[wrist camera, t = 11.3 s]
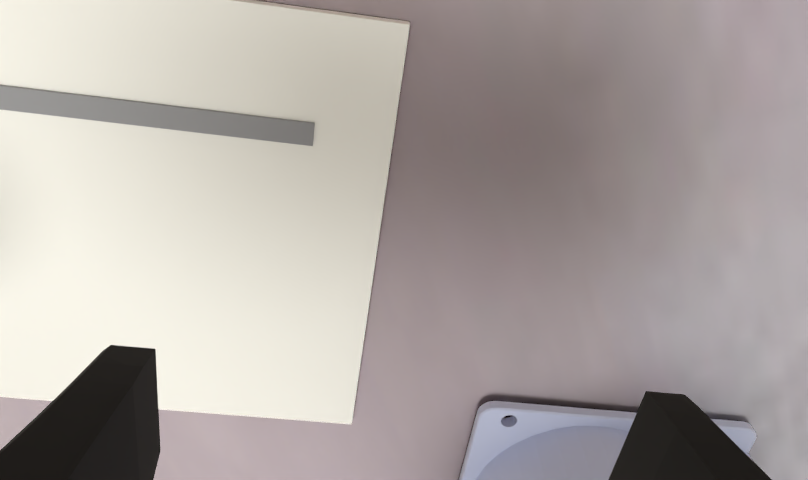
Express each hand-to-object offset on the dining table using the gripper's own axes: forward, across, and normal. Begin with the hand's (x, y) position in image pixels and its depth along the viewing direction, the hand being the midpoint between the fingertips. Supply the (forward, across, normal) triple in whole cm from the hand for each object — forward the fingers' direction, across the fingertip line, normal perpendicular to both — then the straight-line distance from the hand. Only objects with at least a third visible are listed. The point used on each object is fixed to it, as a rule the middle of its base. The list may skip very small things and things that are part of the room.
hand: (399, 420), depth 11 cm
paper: (+9, +8, +3) cm, 13 cm away
